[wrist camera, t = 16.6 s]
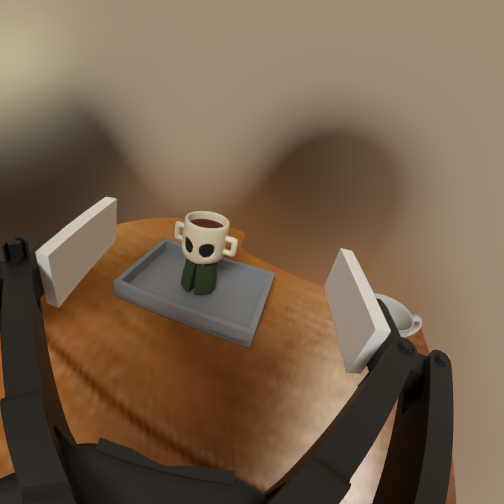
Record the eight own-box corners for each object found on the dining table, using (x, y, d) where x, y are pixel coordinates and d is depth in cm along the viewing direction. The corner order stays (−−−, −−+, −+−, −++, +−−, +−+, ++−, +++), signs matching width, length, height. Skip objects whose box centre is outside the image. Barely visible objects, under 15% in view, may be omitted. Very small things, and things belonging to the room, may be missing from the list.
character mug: (161, 286, 47) (165, 217, 41) (179, 267, 53) (186, 204, 47) (219, 308, 46) (233, 238, 40) (232, 286, 52) (247, 221, 46)
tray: (114, 295, 44) (113, 281, 42) (163, 250, 59) (164, 238, 58) (249, 347, 41) (254, 334, 40) (271, 285, 57) (275, 273, 55)
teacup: (341, 356, 43) (362, 321, 39) (342, 317, 52) (359, 284, 48) (410, 373, 41) (434, 341, 37) (402, 334, 50) (421, 304, 47)
